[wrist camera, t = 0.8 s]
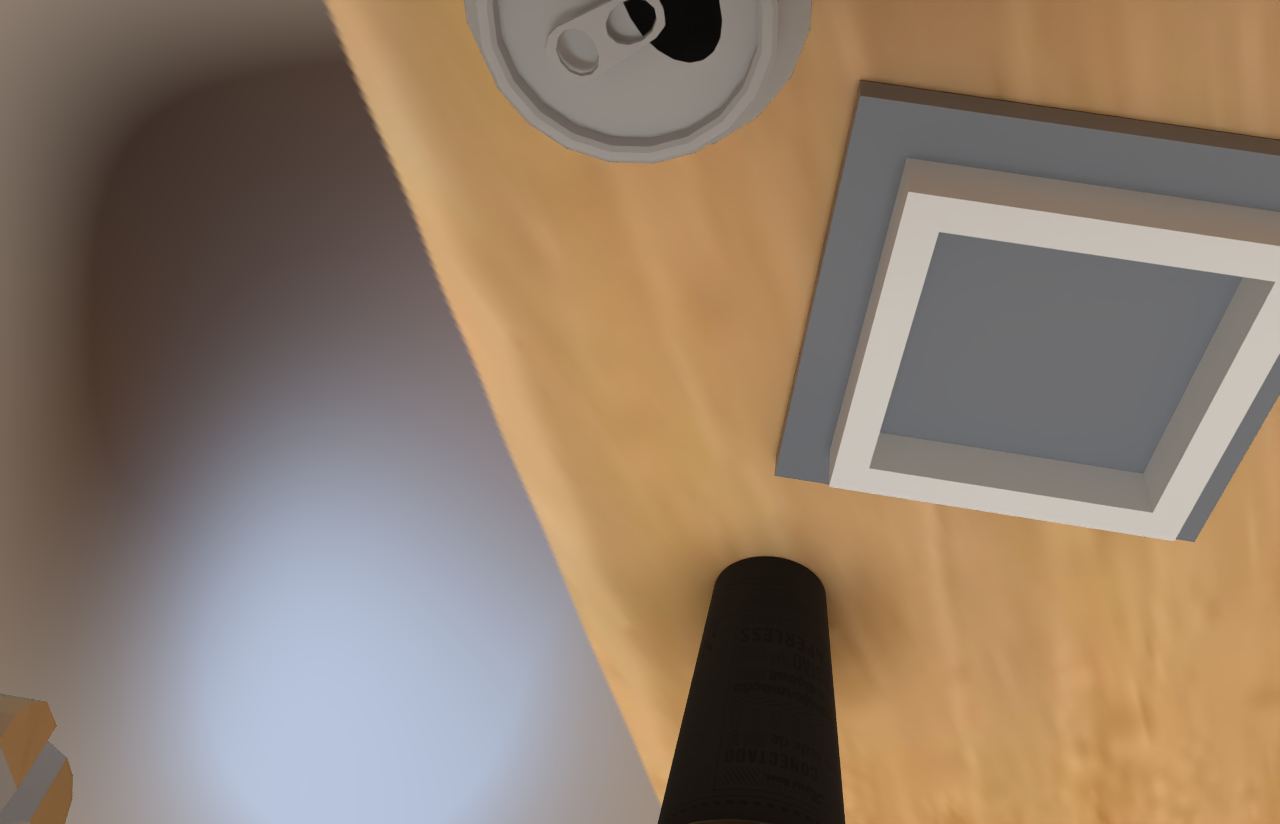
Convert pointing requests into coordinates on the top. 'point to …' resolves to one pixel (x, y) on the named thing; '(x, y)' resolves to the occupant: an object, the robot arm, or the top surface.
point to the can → (639, 68)
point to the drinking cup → (760, 706)
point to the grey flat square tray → (1040, 313)
